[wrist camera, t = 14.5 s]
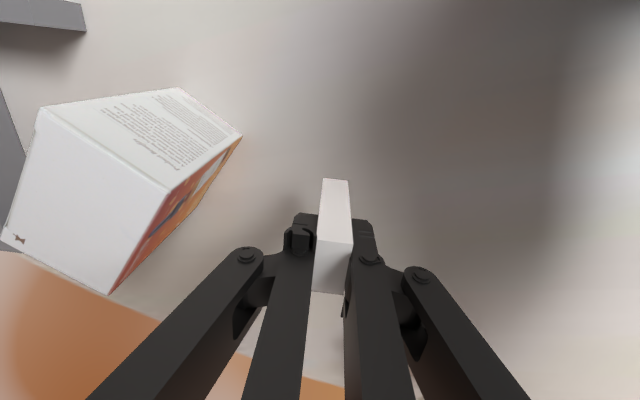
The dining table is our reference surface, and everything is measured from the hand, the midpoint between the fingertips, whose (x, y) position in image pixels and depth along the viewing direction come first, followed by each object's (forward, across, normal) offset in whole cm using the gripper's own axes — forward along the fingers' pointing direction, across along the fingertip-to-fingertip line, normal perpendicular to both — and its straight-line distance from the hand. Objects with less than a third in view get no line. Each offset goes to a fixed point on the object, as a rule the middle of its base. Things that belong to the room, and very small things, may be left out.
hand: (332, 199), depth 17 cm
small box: (+5, +11, 0) cm, 12 cm away
